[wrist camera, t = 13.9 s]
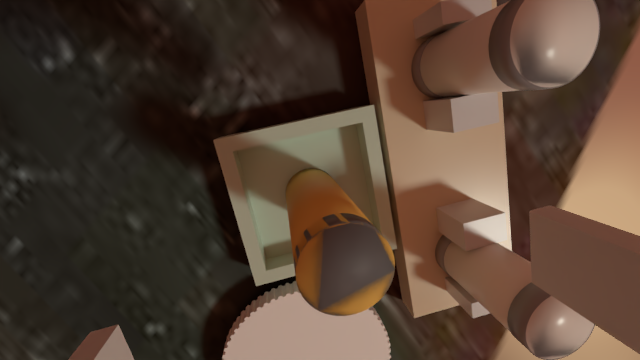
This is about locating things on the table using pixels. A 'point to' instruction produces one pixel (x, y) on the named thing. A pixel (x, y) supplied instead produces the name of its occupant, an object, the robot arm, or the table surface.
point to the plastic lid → (303, 331)
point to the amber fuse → (335, 247)
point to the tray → (285, 161)
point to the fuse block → (468, 148)
